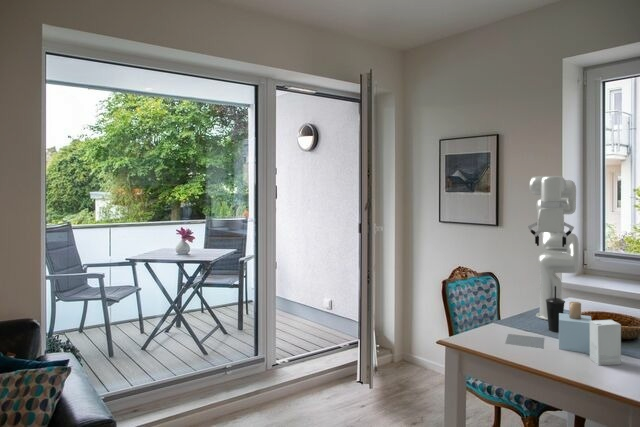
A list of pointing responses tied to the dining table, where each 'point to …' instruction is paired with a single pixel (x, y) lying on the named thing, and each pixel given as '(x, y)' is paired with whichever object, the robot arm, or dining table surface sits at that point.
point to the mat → (525, 341)
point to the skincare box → (605, 342)
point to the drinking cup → (554, 312)
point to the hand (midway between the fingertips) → (550, 246)
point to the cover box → (574, 330)
